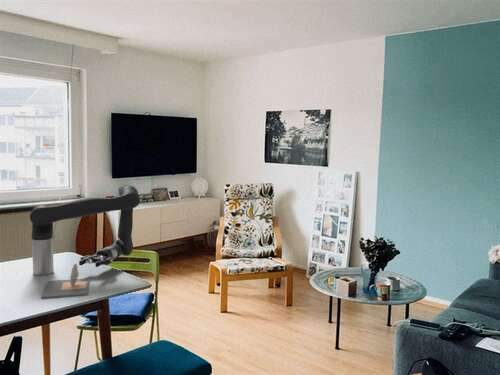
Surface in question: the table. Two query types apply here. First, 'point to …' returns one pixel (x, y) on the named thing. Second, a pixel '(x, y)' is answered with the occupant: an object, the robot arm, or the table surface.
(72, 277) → the arrowhead
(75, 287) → the mat
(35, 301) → the table surface
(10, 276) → the table surface
